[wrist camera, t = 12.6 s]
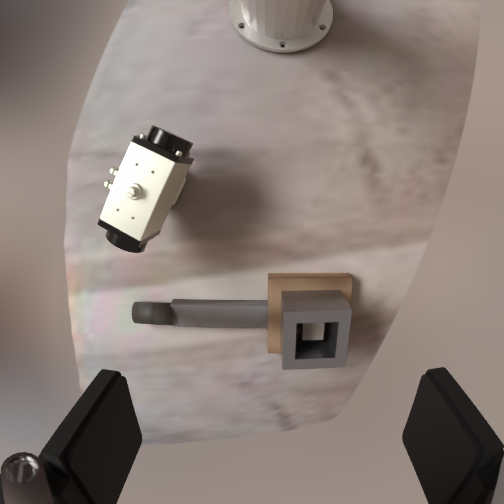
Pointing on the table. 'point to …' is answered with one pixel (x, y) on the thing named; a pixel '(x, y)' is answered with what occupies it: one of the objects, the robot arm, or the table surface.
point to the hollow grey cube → (314, 311)
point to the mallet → (247, 308)
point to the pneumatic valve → (145, 188)
